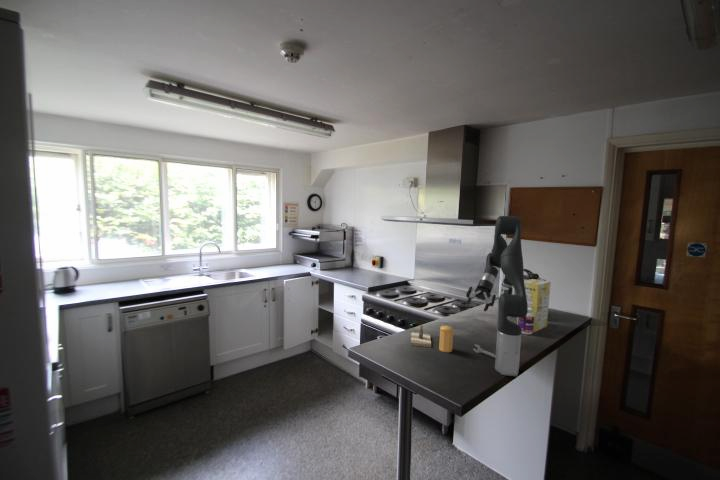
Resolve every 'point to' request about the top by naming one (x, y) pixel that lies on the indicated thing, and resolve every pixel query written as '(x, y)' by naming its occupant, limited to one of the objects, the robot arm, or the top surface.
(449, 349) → the octagonal lidded canister
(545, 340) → the top surface
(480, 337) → the top surface
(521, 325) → the pill bottle
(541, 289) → the pasta box
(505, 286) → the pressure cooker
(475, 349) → the combination wrench
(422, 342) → the post board
